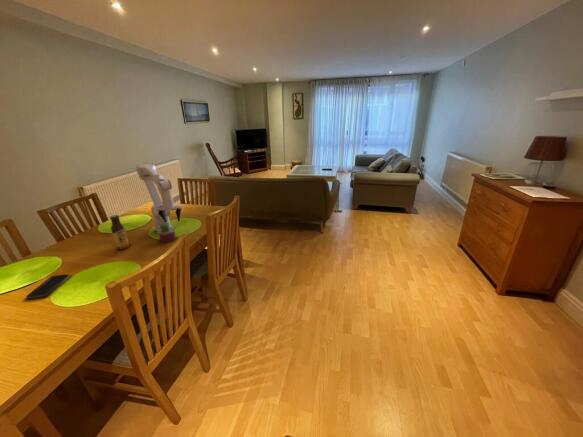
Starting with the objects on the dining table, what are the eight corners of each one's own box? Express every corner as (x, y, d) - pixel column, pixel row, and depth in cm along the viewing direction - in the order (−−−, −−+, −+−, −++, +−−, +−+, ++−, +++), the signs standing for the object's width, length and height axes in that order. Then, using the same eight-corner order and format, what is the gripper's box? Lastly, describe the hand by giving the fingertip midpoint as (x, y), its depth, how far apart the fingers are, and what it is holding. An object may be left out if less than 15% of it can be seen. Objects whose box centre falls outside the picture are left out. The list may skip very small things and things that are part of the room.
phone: (24, 297, 100) (51, 275, 113) (25, 299, 100) (52, 277, 114) (45, 295, 101) (70, 274, 114) (46, 297, 101) (71, 276, 115)
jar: (156, 241, 146) (153, 232, 144) (167, 234, 155) (165, 226, 153) (168, 243, 144) (166, 234, 141) (180, 236, 152) (178, 227, 150)
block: (161, 232, 145) (160, 226, 143) (163, 229, 148) (162, 223, 147) (168, 231, 146) (167, 225, 144) (170, 228, 149) (169, 222, 148)
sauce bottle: (123, 250, 137) (112, 218, 129) (114, 249, 138) (103, 218, 130) (132, 245, 143) (123, 214, 135) (123, 244, 144) (113, 213, 136)
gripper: (152, 203, 138) (157, 225, 144) (179, 201, 141) (183, 222, 146) (156, 200, 145) (161, 220, 150) (181, 198, 147) (185, 218, 153)
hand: (172, 221), depth 149 cm, fingers open, 7 cm apart
